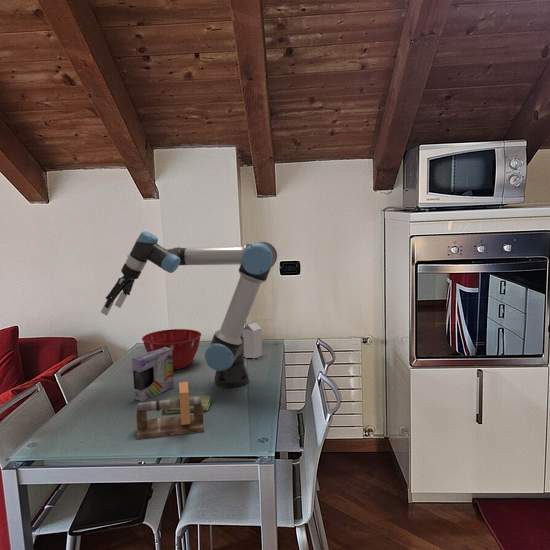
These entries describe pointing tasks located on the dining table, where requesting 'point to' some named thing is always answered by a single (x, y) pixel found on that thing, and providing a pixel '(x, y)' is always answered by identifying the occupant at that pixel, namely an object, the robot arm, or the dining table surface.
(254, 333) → the milk carton
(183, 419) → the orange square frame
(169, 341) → the mixing bowl
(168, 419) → the rod stand
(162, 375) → the cake pan box
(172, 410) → the washcloth
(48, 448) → the dining table surface
